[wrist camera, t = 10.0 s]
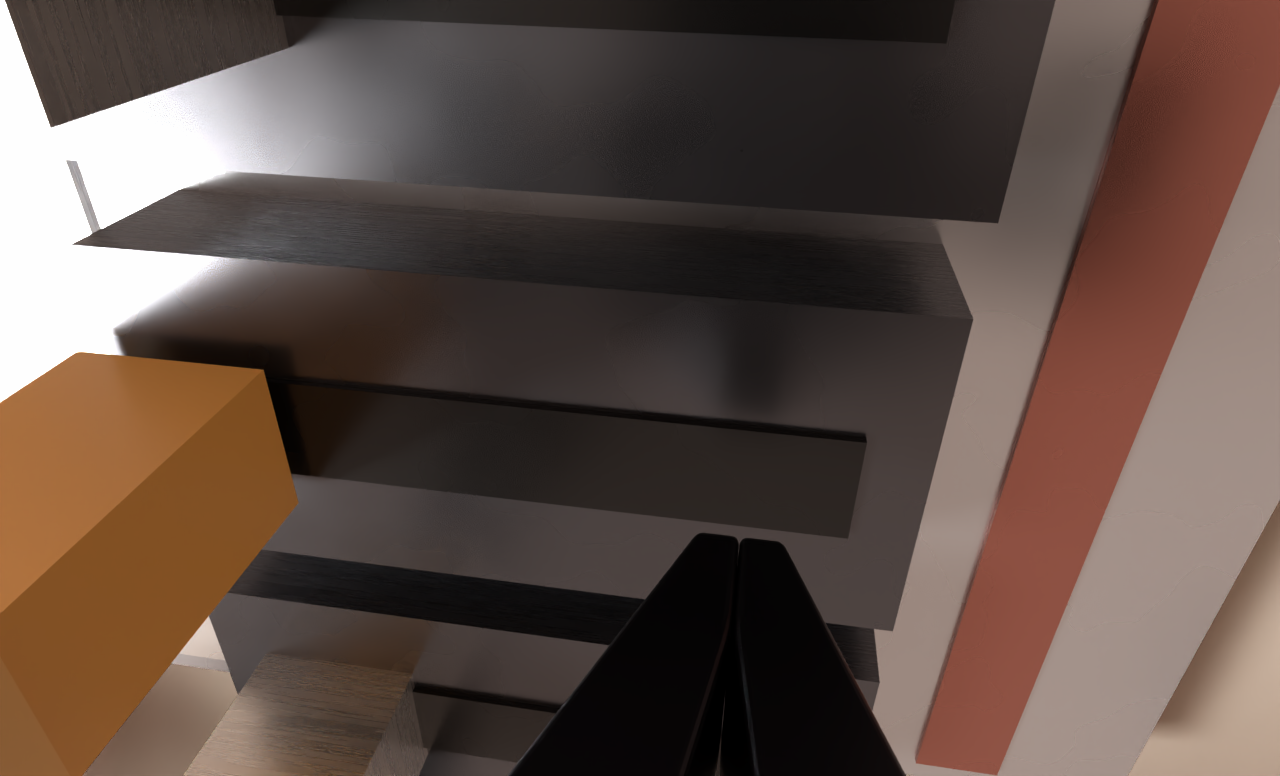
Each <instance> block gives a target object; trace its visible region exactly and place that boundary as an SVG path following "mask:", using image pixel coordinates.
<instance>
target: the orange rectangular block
mask: <svg viewBox="0 0 1280 776" xmlns="http://www.w3.org/2000/svg"><path fill="white" fill-rule="evenodd" d="M298 503H299V502H298V499H297V495H296V491H295V487H294V483H293V480H292V476H291V472H290V468H289V464H288V461H287V457H286V453H285V449H284V446H283V442H282V438H281V434H280V430H279V427H278V423H277V419H276V415H275V411H274V408H273V404H272V400H271V396H270V393H269V389H268V385H267V381H266V377H265V374H264V370H261V369H251V368H241V367H231V366H221V365H211V364H201V363H191V362H181V361H171V360H162V359H152V358H142V357H132V356H122V355H112V354H102V353H92V352H82V351H77V352H76V353H74V354H73V355H71V356H69V357H68V358H66V359H65V360H63V361H62V362H60V363H59V364H57V365H56V366H54V367H53V368H51V369H50V370H48V371H47V372H45V373H44V374H42V375H41V376H39V377H38V378H36V379H35V380H33V381H32V382H30V383H29V384H27V385H26V386H24V387H23V388H21V389H19V390H18V391H16V392H15V393H13V394H12V395H10V396H9V397H7V398H6V399H4V400H3V401H1V402H0V776H82V775H83V774H84V773H85V771H86V770H87V769H88V768H89V766H90V765H91V764H92V763H93V761H94V760H95V759H96V757H97V756H98V755H99V754H100V752H101V751H102V750H103V749H104V747H105V746H106V745H107V744H108V742H109V741H110V740H111V739H112V737H113V736H114V735H115V734H116V732H117V731H118V730H119V728H120V727H121V726H122V725H123V723H124V722H125V721H126V720H127V718H128V717H129V716H130V715H131V713H132V712H133V711H134V710H135V708H136V707H137V706H138V705H139V703H140V702H141V701H142V700H143V698H144V697H145V696H146V694H147V693H148V692H149V691H150V689H151V688H152V687H153V686H154V684H155V683H156V682H157V681H158V679H159V678H160V677H161V676H162V674H163V673H164V672H165V671H166V669H167V668H168V667H169V665H170V664H171V663H172V662H173V660H174V659H175V658H176V657H177V655H178V654H179V653H180V652H181V650H182V649H183V648H184V647H185V645H186V644H187V643H188V642H189V640H190V639H191V638H192V636H193V635H194V634H195V633H196V631H197V630H198V629H199V628H200V626H201V625H202V624H203V623H204V621H205V620H206V619H207V618H208V616H209V615H210V614H211V613H212V611H213V610H214V609H215V607H216V606H217V605H218V604H219V602H220V601H221V600H222V599H223V597H224V596H225V595H226V594H227V592H228V591H229V590H230V589H231V587H232V586H233V585H234V584H235V582H236V581H237V580H238V578H239V577H240V576H241V575H242V573H243V572H244V571H245V570H246V568H247V567H248V566H249V565H250V563H251V562H252V561H253V560H254V558H255V557H256V556H257V555H258V553H259V552H260V551H261V550H262V548H263V547H264V546H265V544H266V543H267V542H268V541H269V539H270V538H271V537H272V536H273V534H274V533H275V532H276V531H277V529H278V528H279V527H280V526H281V524H282V523H283V522H284V521H285V519H286V518H287V517H288V515H289V514H290V513H291V512H292V510H293V509H294V508H295V507H296V505H297V504H298Z"/></svg>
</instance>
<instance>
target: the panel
mask: <svg viewBox="0 0 1280 776" xmlns="http://www.w3.org/2000/svg"><path fill="white" fill-rule="evenodd" d="M77 351H82V352H92V353H102V354H112V355H122V356H132V357H142V358H152V359H162V360H171V361H181V362H191V363H201V364H211V365H221V366H231V367H241V368H251V369H261V370H264V374H265V377H266V381H267V385H268V389H269V393H270V396H271V400H272V404H273V408H274V411H275V415H276V419H277V423H278V427H279V430H280V434H281V438H282V442H283V446H284V449H285V453H286V457H287V461H288V464H289V468H290V472H291V476H292V480H293V483H294V487H295V491H296V495H297V499H298V502H299V503H298V504H297V505H296V507H295V508H294V509H293V510H292V512H291V513H290V514H289V515H288V517H287V518H286V519H285V521H284V522H283V523H282V524H281V526H280V527H279V528H278V529H277V531H276V532H275V533H274V534H273V536H272V537H271V538H270V539H269V541H268V542H267V543H266V544H265V546H264V547H263V548H262V550H261V551H260V552H259V553H258V555H257V556H256V557H255V558H254V560H253V561H252V562H251V563H250V565H249V566H248V567H247V568H246V570H245V571H244V572H243V573H242V575H241V576H240V577H239V578H238V580H237V581H236V582H235V584H234V585H233V586H232V587H231V589H230V590H229V591H228V592H227V594H226V595H225V596H224V597H223V599H222V600H221V601H220V602H219V604H218V605H217V606H216V607H215V609H214V610H213V611H212V613H211V614H210V615H209V616H208V618H207V619H206V620H205V621H204V623H203V624H202V625H201V626H200V628H199V629H198V630H197V631H196V633H195V634H194V635H193V636H192V638H191V639H190V640H189V642H188V643H187V644H186V645H185V647H184V648H183V649H182V650H181V652H180V653H179V654H178V655H177V657H176V658H175V659H174V660H173V662H172V663H171V664H177V665H184V666H191V667H197V668H204V669H210V670H217V671H224V672H230V674H231V677H232V679H233V682H234V685H235V687H236V690H237V693H238V696H237V697H236V699H235V700H234V701H233V703H232V704H231V706H230V707H229V709H228V710H227V712H226V713H225V715H224V716H223V718H222V719H221V721H220V722H219V723H218V725H217V726H216V728H215V729H214V731H213V732H212V734H211V735H210V737H209V738H208V740H207V741H206V743H205V744H204V746H203V747H202V748H201V750H200V751H199V753H198V754H197V756H196V757H195V759H194V760H193V762H192V763H191V765H190V766H189V768H188V769H187V770H186V772H185V773H184V775H183V776H508V774H509V773H510V772H511V770H512V769H513V768H514V767H515V765H516V764H517V763H518V761H519V760H520V759H521V758H522V756H523V755H524V754H525V753H526V751H527V750H528V749H529V747H530V746H531V745H532V744H533V742H534V741H535V740H536V738H537V737H538V736H539V735H540V733H541V732H542V731H543V729H544V728H545V727H546V726H547V724H548V723H549V722H550V721H551V719H552V718H553V717H554V715H555V714H556V713H557V712H558V710H559V709H560V708H561V706H562V705H563V704H564V703H565V701H566V700H567V699H568V697H569V696H570V695H571V694H572V692H573V691H574V690H575V688H576V687H577V686H578V685H579V683H580V682H581V681H582V680H583V678H584V677H585V676H586V674H587V673H588V672H589V671H590V669H591V668H592V667H593V665H594V664H595V663H596V662H597V660H598V659H599V658H600V656H601V655H602V654H603V653H604V651H605V650H606V649H607V648H608V646H609V645H610V644H611V642H612V641H613V640H614V639H615V637H616V636H617V635H618V633H619V632H620V631H621V630H622V628H623V627H624V626H625V624H626V623H627V622H628V621H629V619H630V618H631V617H632V616H633V614H634V613H635V612H636V610H637V609H638V608H639V607H640V605H641V604H642V603H643V601H644V600H645V599H646V598H647V596H648V595H649V594H650V592H651V591H652V590H653V589H654V587H655V586H656V585H657V584H658V582H659V581H660V580H661V578H662V577H663V576H664V575H665V573H666V572H667V571H668V569H669V568H670V567H671V566H672V564H673V563H674V562H675V560H676V559H677V558H678V557H679V555H680V554H681V553H682V551H683V550H684V549H685V548H686V546H687V545H688V544H689V543H690V541H691V540H692V539H693V538H694V537H695V536H696V535H697V534H699V533H711V534H720V535H728V536H734V537H735V538H737V540H738V542H739V545H740V542H741V540H742V539H744V538H754V539H763V540H771V541H778V542H780V543H782V544H783V545H784V546H785V548H786V549H787V551H788V553H789V555H790V557H791V559H792V561H793V562H794V564H795V566H796V568H797V570H798V572H799V574H800V576H801V578H802V579H803V581H804V583H805V585H806V587H807V589H808V591H809V593H810V595H811V596H812V598H813V600H814V602H815V604H816V606H817V608H818V610H819V612H820V614H821V615H822V617H823V619H824V621H825V623H826V625H827V627H828V629H829V631H830V632H831V634H832V636H833V638H834V640H835V642H836V644H837V646H838V648H839V649H840V651H841V653H842V655H843V657H844V659H845V661H846V663H847V665H848V666H849V668H850V670H851V672H852V674H853V676H854V678H855V680H856V682H857V683H858V685H859V687H860V689H861V691H862V693H863V695H864V697H865V699H866V700H867V702H868V704H869V706H870V708H871V710H872V712H873V714H874V716H875V718H876V719H877V721H878V723H879V725H880V727H881V729H882V731H883V733H884V735H885V736H886V738H887V740H888V742H889V744H890V746H891V748H892V750H893V752H894V753H895V755H896V757H897V759H898V761H899V763H900V765H901V767H902V769H903V770H904V772H905V774H907V775H913V776H1128V775H1129V773H1130V771H1131V769H1132V768H1133V766H1134V764H1135V762H1136V760H1137V758H1138V757H1139V755H1140V753H1141V751H1142V749H1143V748H1144V746H1145V744H1146V742H1147V740H1148V738H1149V737H1150V735H1151V733H1152V731H1153V729H1154V728H1155V726H1156V724H1157V722H1158V720H1159V719H1160V717H1161V715H1162V713H1163V711H1164V709H1165V708H1166V706H1167V704H1168V702H1169V700H1170V699H1171V697H1172V695H1173V693H1174V691H1175V689H1176V688H1177V686H1178V684H1179V682H1180V680H1181V679H1182V677H1183V675H1184V673H1185V671H1186V669H1187V668H1188V666H1189V664H1190V662H1191V660H1192V659H1193V657H1194V655H1195V653H1196V651H1197V649H1198V648H1199V646H1200V644H1201V642H1202V640H1203V639H1204V637H1205V635H1206V633H1207V631H1208V630H1209V628H1210V626H1211V624H1212V622H1213V620H1214V619H1215V617H1216V615H1217V613H1218V611H1219V610H1220V608H1221V606H1222V604H1223V602H1224V600H1225V599H1226V597H1227V595H1228V593H1229V591H1230V590H1231V588H1232V586H1233V584H1234V582H1235V580H1236V579H1237V577H1238V575H1239V573H1240V571H1241V570H1242V568H1243V566H1244V564H1245V562H1246V560H1247V559H1248V557H1249V555H1250V553H1251V551H1252V550H1253V548H1254V546H1255V544H1256V542H1257V540H1258V539H1259V537H1260V535H1261V533H1262V531H1263V530H1264V528H1265V526H1266V524H1267V522H1268V521H1269V519H1270V517H1271V515H1272V513H1273V511H1274V510H1275V508H1276V506H1277V504H1278V502H1279V501H1280V0H0V402H1V401H3V400H4V399H6V398H7V397H9V396H10V395H12V394H13V393H15V392H16V391H18V390H19V389H21V388H23V387H24V386H26V385H27V384H29V383H30V382H32V381H33V380H35V379H36V378H38V377H39V376H41V375H42V374H44V373H45V372H47V371H48V370H50V369H51V368H53V367H54V366H56V365H57V364H59V363H60V362H62V361H63V360H65V359H66V358H68V357H69V356H71V355H73V354H74V353H76V352H77ZM738 553H739V550H738ZM737 563H738V562H737ZM725 692H726V691H725ZM724 703H725V701H724ZM723 714H724V711H723ZM722 725H723V721H722ZM721 736H722V731H721ZM720 751H721V741H720V749H719V757H718V765H717V771H716V776H720Z"/></svg>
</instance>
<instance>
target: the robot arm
mask: <svg viewBox="0 0 1280 776" xmlns="http://www.w3.org/2000/svg"><path fill="white" fill-rule="evenodd" d="M738 550H739V553H738ZM737 562H738V563H737ZM725 691H726V692H725ZM724 701H725V703H724ZM723 711H724V714H723ZM722 721H723V725H722ZM721 731H722V736H721ZM720 741H721V751H720V776H906V774H905V772H904V770H903V769H902V767H901V765H900V763H899V761H898V759H897V757H896V755H895V753H894V752H893V750H892V748H891V746H890V744H889V742H888V740H887V738H886V736H885V735H884V733H883V731H882V729H881V727H880V725H879V723H878V721H877V719H876V718H875V716H874V714H873V712H872V710H871V708H870V706H869V704H868V702H867V700H866V699H865V697H864V695H863V693H862V691H861V689H860V687H859V685H858V683H857V682H856V680H855V678H854V676H853V674H852V672H851V670H850V668H849V666H848V665H847V663H846V661H845V659H844V657H843V655H842V653H841V651H840V649H839V648H838V646H837V644H836V642H835V640H834V638H833V636H832V634H831V632H830V631H829V629H828V627H827V625H826V623H825V621H824V619H823V617H822V615H821V614H820V612H819V610H818V608H817V606H816V604H815V602H814V600H813V598H812V596H811V595H810V593H809V591H808V589H807V587H806V585H805V583H804V581H803V579H802V578H801V576H800V574H799V572H798V570H797V568H796V566H795V564H794V562H793V561H792V559H791V557H790V555H789V553H788V551H787V549H786V548H785V546H784V545H783V544H782V543H780V542H778V541H771V540H763V539H754V538H744V539H742V540H741V542H740V545H739V542H738V540H737V538H735V537H734V536H728V535H720V534H711V533H699V534H697V535H696V536H695V537H694V538H693V539H692V540H691V541H690V543H689V544H688V545H687V546H686V548H685V549H684V550H683V551H682V553H681V554H680V555H679V557H678V558H677V559H676V560H675V562H674V563H673V564H672V566H671V567H670V568H669V569H668V571H667V572H666V573H665V575H664V576H663V577H662V578H661V580H660V581H659V582H658V584H657V585H656V586H655V587H654V589H653V590H652V591H651V592H650V594H649V595H648V596H647V598H646V599H645V600H644V601H643V603H642V604H641V605H640V607H639V608H638V609H637V610H636V612H635V613H634V614H633V616H632V617H631V618H630V619H629V621H628V622H627V623H626V624H625V626H624V627H623V628H622V630H621V631H620V632H619V633H618V635H617V636H616V637H615V639H614V640H613V641H612V642H611V644H610V645H609V646H608V648H607V649H606V650H605V651H604V653H603V654H602V655H601V656H600V658H599V659H598V660H597V662H596V663H595V664H594V665H593V667H592V668H591V669H590V671H589V672H588V673H587V674H586V676H585V677H584V678H583V680H582V681H581V682H580V683H579V685H578V686H577V687H576V688H575V690H574V691H573V692H572V694H571V695H570V696H569V697H568V699H567V700H566V701H565V703H564V704H563V705H562V706H561V708H560V709H559V710H558V712H557V713H556V714H555V715H554V717H553V718H552V719H551V721H550V722H549V723H548V724H547V726H546V727H545V728H544V729H543V731H542V732H541V733H540V735H539V736H538V737H537V738H536V740H535V741H534V742H533V744H532V745H531V746H530V747H529V749H528V750H527V751H526V753H525V754H524V755H523V756H522V758H521V759H520V760H519V761H518V763H517V764H516V765H515V767H514V768H513V769H512V770H511V772H510V773H509V774H508V776H716V771H717V765H718V757H719V749H720Z"/></svg>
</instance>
